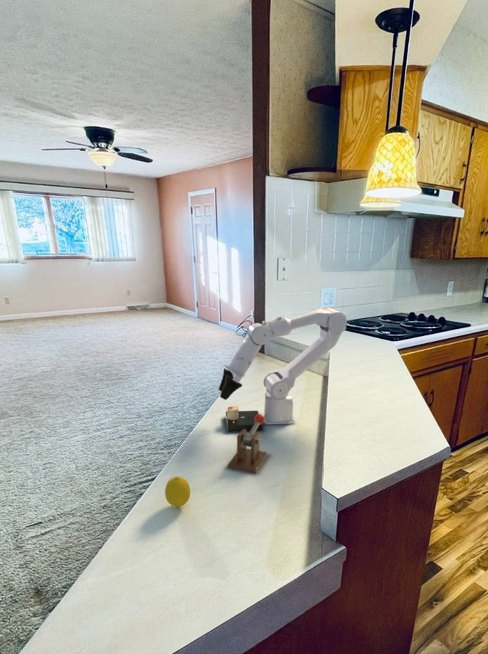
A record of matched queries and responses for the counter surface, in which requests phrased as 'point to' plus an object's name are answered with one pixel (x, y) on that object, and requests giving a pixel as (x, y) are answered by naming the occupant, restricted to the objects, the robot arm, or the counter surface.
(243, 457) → the switch bracket
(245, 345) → the robot arm
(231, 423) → the control panel
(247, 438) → the lever
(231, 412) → the dial
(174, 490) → the lemon
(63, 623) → the counter surface
